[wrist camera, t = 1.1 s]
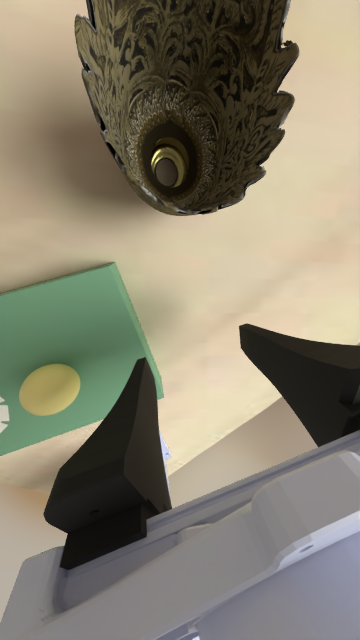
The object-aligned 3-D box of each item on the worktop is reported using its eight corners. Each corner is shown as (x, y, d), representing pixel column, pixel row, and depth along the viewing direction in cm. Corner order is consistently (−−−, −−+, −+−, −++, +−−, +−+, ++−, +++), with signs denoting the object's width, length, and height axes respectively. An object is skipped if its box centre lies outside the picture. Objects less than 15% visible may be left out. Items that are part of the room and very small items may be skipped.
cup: (116, 222, 13) (88, 195, 6) (110, 84, 10) (40, -287, 3) (205, 233, 15) (265, 223, 8) (221, 119, 12) (340, -66, 5)
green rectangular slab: (160, 377, 20) (164, 397, 18) (-29, 442, 18) (-57, 476, 16) (115, 262, 14) (109, 266, 12) (-181, 342, 12) (-270, 369, 9)
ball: (93, 379, 15) (80, 416, 12) (53, 393, 15) (28, 434, 11) (72, 348, 13) (51, 381, 10) (26, 362, 13) (-10, 401, 10)
